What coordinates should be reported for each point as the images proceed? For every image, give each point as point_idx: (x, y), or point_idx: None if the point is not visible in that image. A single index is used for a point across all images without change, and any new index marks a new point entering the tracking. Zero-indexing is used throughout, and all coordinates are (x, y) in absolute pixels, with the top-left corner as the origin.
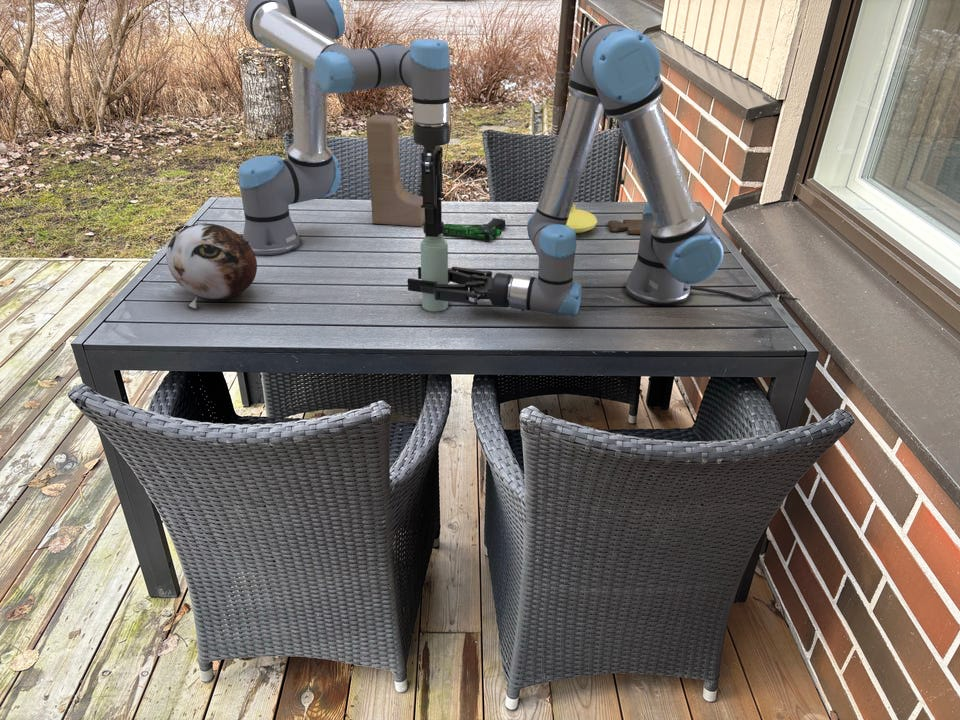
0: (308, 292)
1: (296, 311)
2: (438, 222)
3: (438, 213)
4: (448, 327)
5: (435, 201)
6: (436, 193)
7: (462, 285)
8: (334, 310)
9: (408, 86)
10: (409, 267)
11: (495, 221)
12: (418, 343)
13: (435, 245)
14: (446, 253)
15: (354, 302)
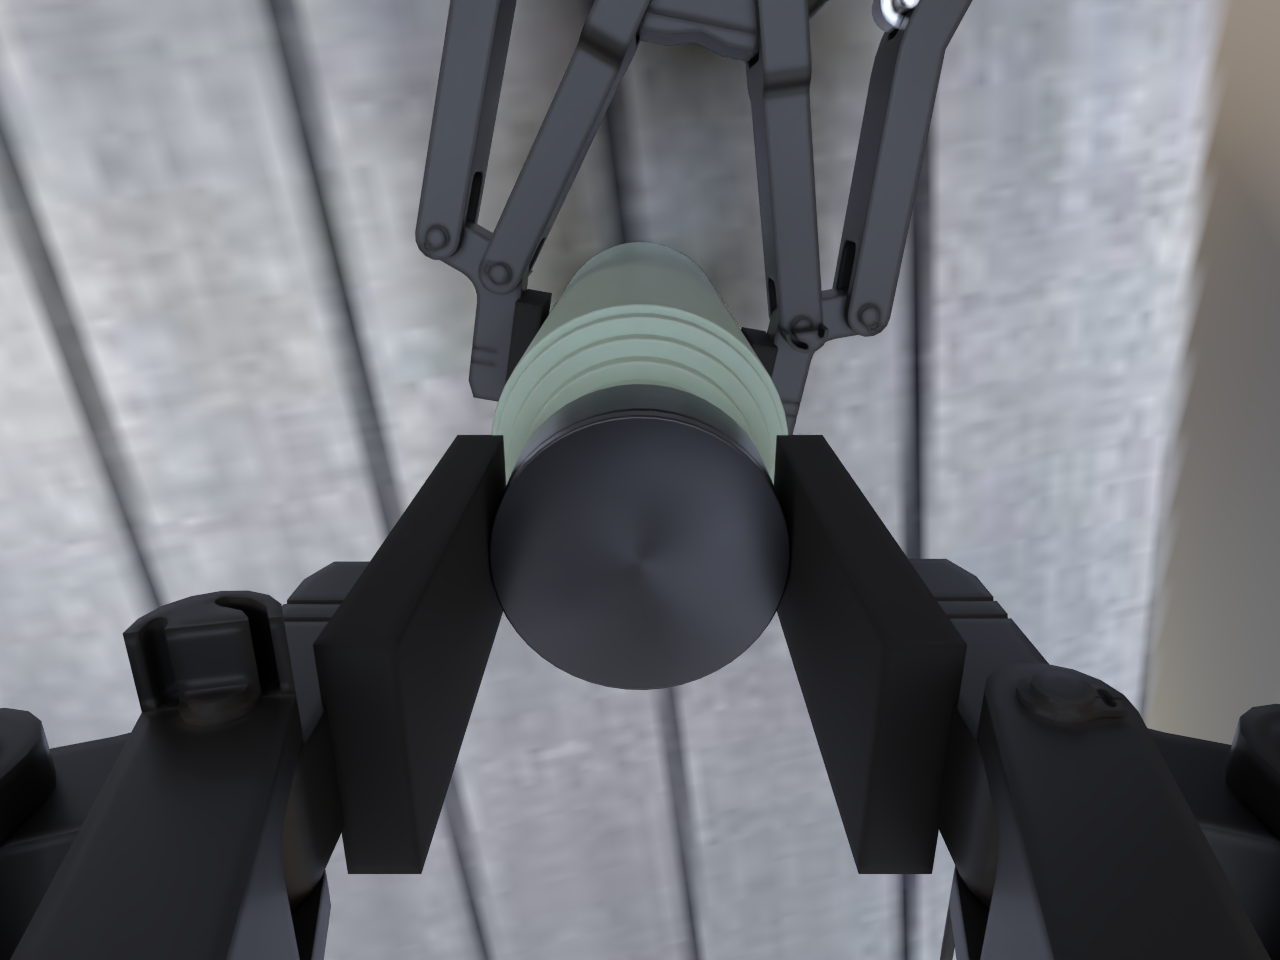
0: (575, 951)
1: (777, 945)
2: (599, 498)
3: (463, 557)
4: (927, 197)
5: (1169, 790)
6: (1108, 944)
7: (793, 110)
8: (753, 810)
9: None
10: (127, 569)
11: None
12: (1120, 346)
13: (766, 431)
14: (680, 298)
15: (654, 748)
